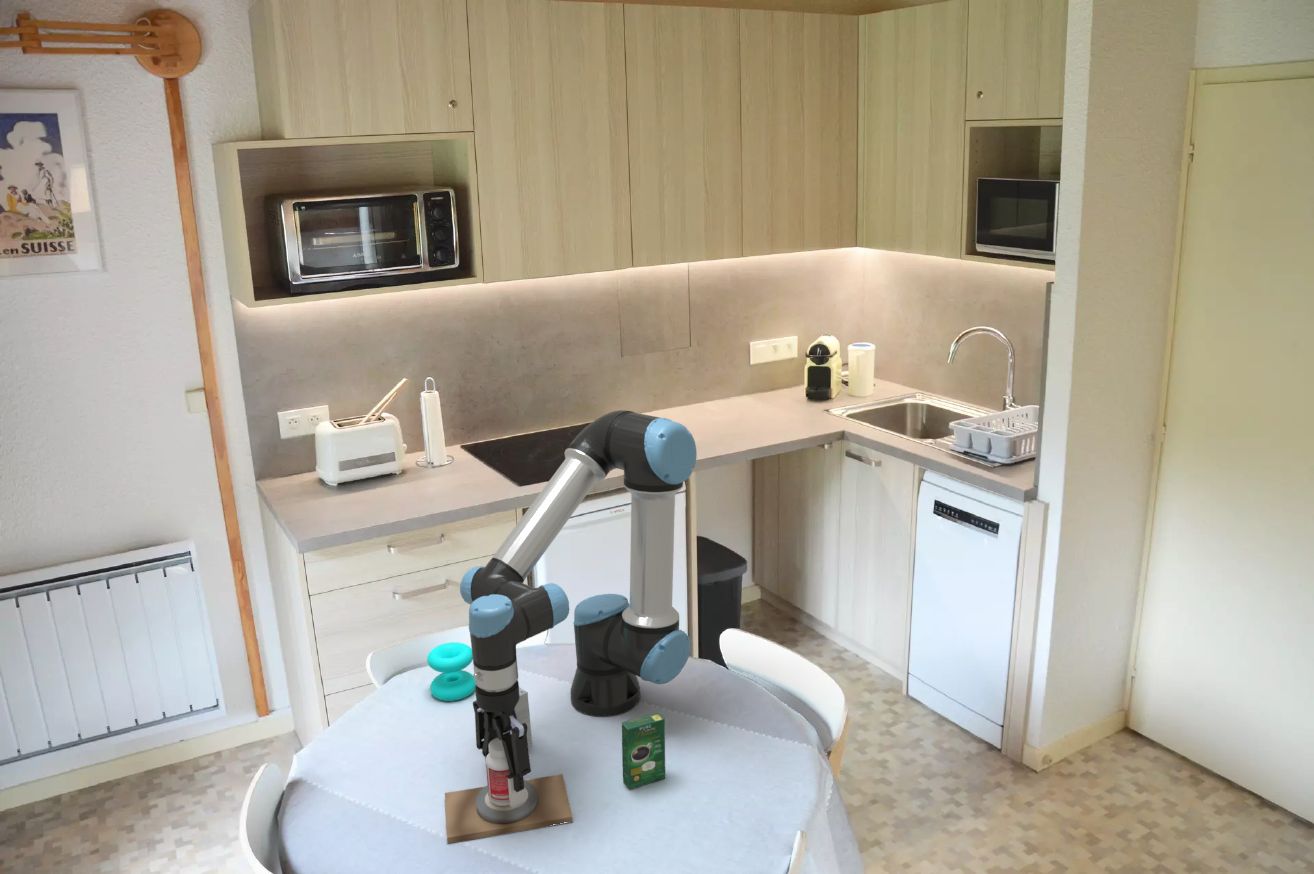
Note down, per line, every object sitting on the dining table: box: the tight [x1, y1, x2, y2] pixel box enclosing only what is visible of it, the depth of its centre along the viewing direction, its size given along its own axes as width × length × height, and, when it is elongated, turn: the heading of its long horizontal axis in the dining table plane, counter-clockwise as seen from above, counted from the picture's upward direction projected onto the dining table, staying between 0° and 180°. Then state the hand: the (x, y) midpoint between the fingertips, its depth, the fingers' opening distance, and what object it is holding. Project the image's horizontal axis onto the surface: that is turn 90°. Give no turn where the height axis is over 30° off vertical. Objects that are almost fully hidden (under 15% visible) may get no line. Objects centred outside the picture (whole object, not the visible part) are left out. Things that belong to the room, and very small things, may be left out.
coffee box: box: [621, 712, 666, 790], centre depth 194 cm, size 8×3×13 cm, turn 116°
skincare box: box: [503, 687, 533, 747], centre depth 206 cm, size 6×4×12 cm
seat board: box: [444, 773, 574, 844], centre depth 188 cm, size 22×13×3 cm, turn 103°
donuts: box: [426, 641, 476, 702], centre depth 227 cm, size 10×10×10 cm
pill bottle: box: [485, 738, 510, 806], centre depth 186 cm, size 6×6×11 cm
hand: (506, 794), depth 187 cm, fingers closed on pill bottle, 6 cm apart
